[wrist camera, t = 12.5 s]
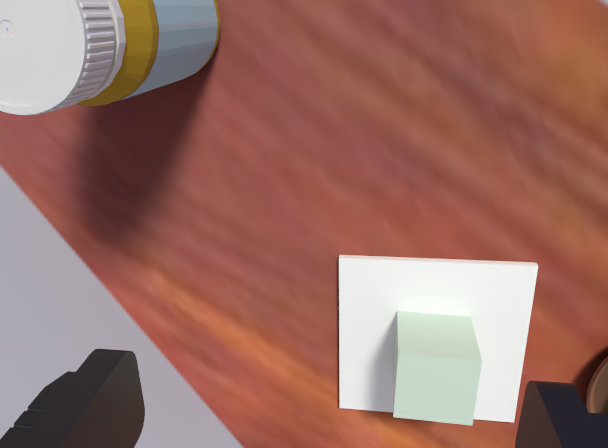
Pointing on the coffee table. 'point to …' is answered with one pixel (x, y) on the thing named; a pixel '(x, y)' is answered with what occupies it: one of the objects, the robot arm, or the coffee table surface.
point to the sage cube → (435, 368)
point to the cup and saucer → (598, 390)
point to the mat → (437, 300)
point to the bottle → (99, 49)
